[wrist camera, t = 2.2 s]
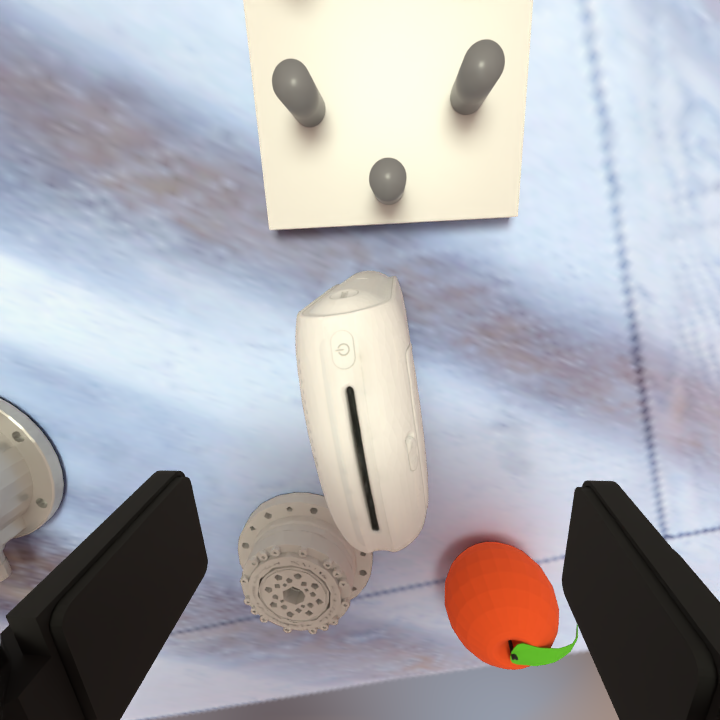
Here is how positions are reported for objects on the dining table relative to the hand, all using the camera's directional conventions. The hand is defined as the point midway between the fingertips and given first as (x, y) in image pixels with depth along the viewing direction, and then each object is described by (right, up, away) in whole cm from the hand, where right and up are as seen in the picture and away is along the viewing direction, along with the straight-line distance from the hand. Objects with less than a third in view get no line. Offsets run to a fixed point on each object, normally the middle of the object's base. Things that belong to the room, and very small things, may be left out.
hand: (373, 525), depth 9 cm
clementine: (+10, -10, +19) cm, 24 cm away
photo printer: (+1, +5, +15) cm, 16 cm away
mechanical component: (-4, -10, +20) cm, 23 cm away
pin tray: (+1, +20, +10) cm, 22 cm away
